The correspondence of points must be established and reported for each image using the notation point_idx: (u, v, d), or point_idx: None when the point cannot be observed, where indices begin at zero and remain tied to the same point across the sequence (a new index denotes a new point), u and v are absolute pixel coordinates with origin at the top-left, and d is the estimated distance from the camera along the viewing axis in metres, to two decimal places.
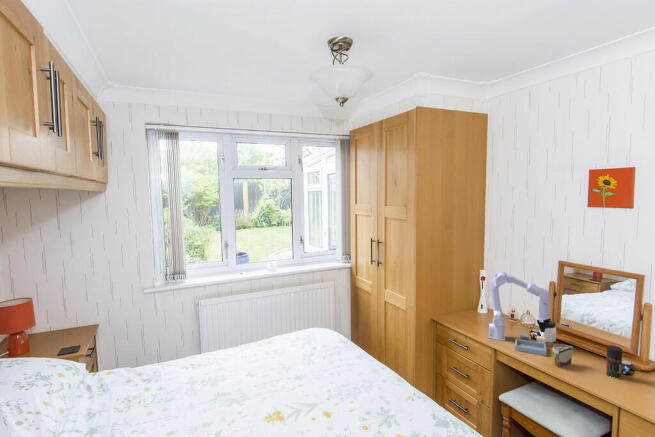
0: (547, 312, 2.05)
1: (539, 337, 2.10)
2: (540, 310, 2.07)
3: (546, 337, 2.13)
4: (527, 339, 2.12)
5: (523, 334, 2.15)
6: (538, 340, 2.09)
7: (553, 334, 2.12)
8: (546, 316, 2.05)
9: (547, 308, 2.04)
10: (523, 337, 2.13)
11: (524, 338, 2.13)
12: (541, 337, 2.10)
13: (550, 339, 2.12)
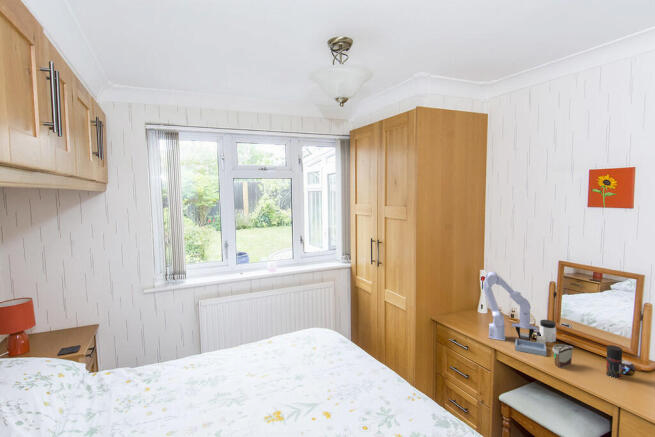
0: (521, 321, 2.13)
1: (539, 337, 2.10)
2: None
3: (546, 337, 2.13)
4: (527, 339, 2.12)
5: (523, 334, 2.15)
6: (538, 340, 2.09)
7: (553, 334, 2.12)
8: (520, 324, 2.14)
9: (527, 318, 2.11)
10: (523, 337, 2.13)
11: (524, 338, 2.13)
12: (541, 337, 2.10)
13: (550, 339, 2.12)
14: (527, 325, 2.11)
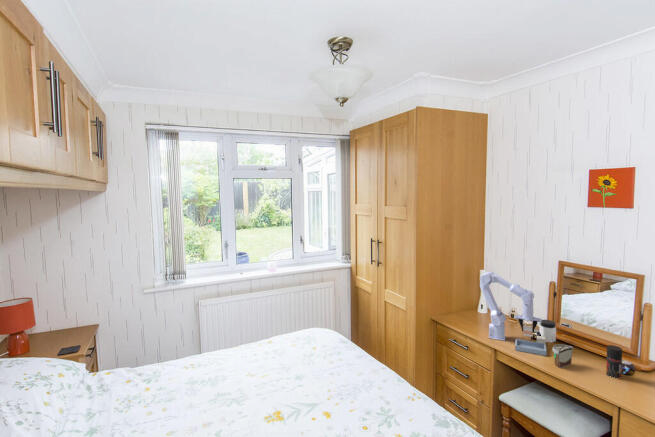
0: (524, 313, 2.07)
1: (539, 337, 2.10)
2: None
3: (546, 337, 2.13)
4: (530, 332, 2.06)
5: (526, 327, 2.09)
6: (538, 340, 2.09)
7: (553, 334, 2.12)
8: (523, 316, 2.08)
9: (529, 310, 2.05)
10: (526, 330, 2.07)
11: (527, 331, 2.07)
12: (541, 337, 2.10)
13: (550, 339, 2.12)
14: (530, 317, 2.05)
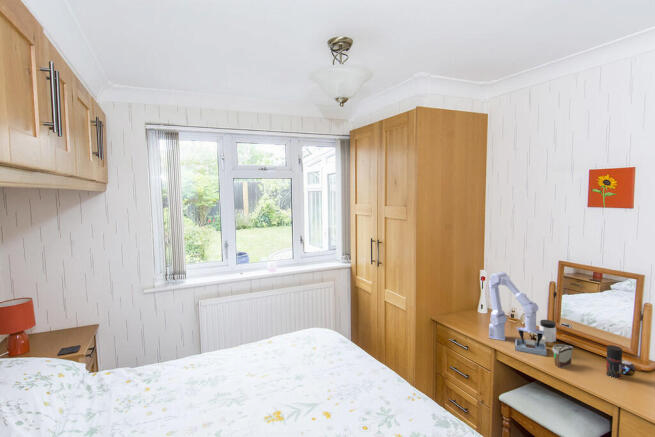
0: (527, 325, 2.02)
1: None
2: None
3: (546, 337, 2.13)
4: (533, 346, 2.01)
5: (529, 341, 2.05)
6: None
7: (553, 334, 2.12)
8: (526, 328, 2.03)
9: (531, 322, 2.00)
10: (529, 344, 2.02)
11: (530, 345, 2.02)
12: None
13: (550, 339, 2.12)
14: (533, 329, 2.00)
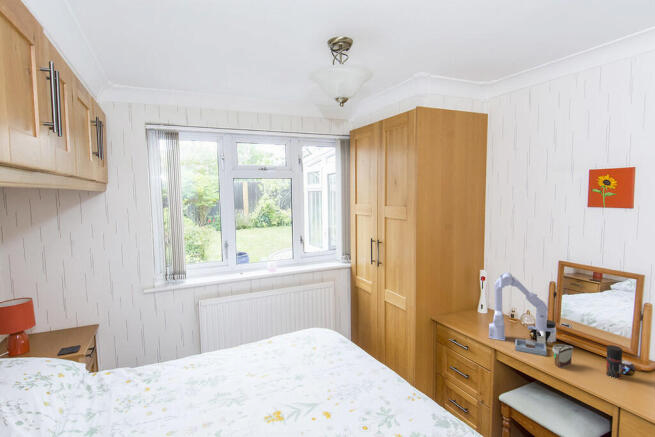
0: (537, 323, 2.09)
1: (539, 337, 2.10)
2: None
3: None
4: (533, 346, 2.01)
5: (529, 341, 2.05)
6: (538, 340, 2.09)
7: (553, 334, 2.12)
8: (537, 327, 2.09)
9: (544, 320, 2.06)
10: (529, 344, 2.02)
11: (530, 345, 2.02)
12: (541, 337, 2.10)
13: (550, 339, 2.12)
14: (544, 327, 2.07)
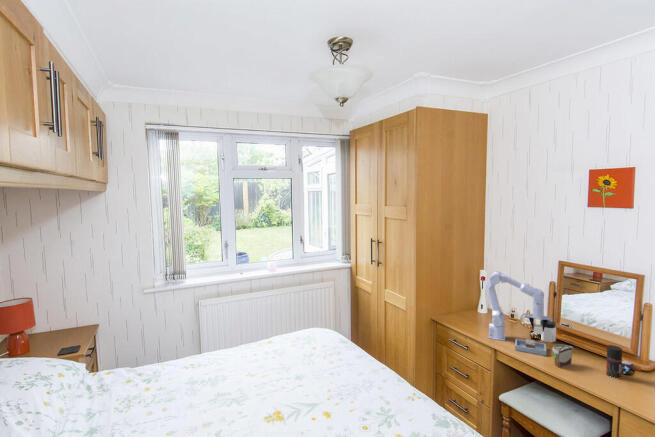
0: (534, 311, 2.06)
1: (536, 325, 2.08)
2: None
3: (546, 337, 2.13)
4: (533, 346, 2.01)
5: (529, 341, 2.05)
6: (535, 328, 2.06)
7: (553, 334, 2.12)
8: (534, 315, 2.07)
9: (540, 308, 2.04)
10: (529, 344, 2.02)
11: (530, 345, 2.02)
12: (538, 326, 2.07)
13: (550, 339, 2.12)
14: (541, 316, 2.04)
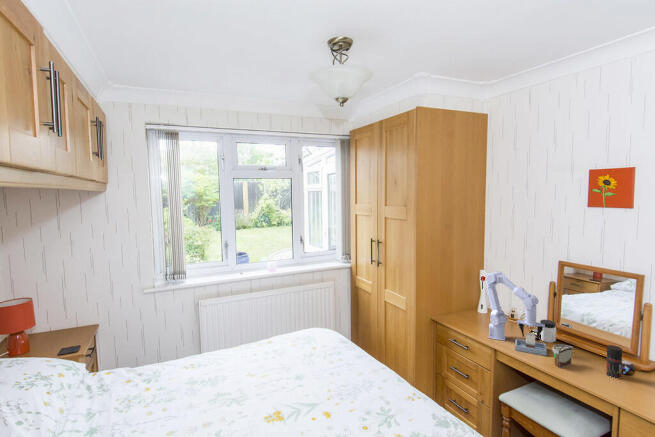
0: (527, 318, 2.02)
1: (529, 334, 2.03)
2: None
3: (546, 337, 2.13)
4: (533, 346, 2.01)
5: None
6: (527, 337, 2.02)
7: (553, 334, 2.12)
8: (526, 321, 2.02)
9: (531, 315, 2.00)
10: (529, 344, 2.02)
11: (530, 345, 2.02)
12: (531, 334, 2.03)
13: (550, 339, 2.12)
14: (533, 322, 2.00)
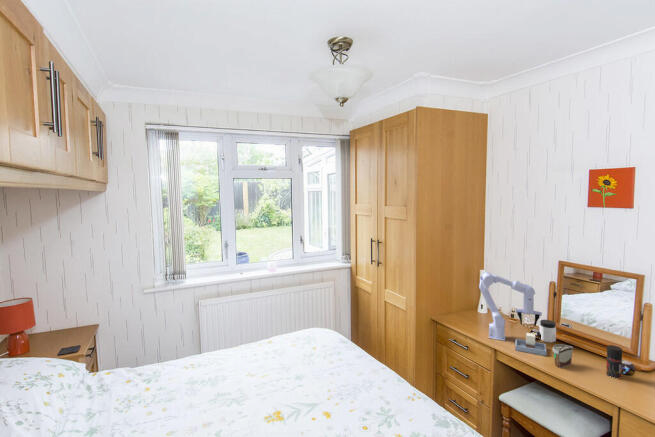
0: (525, 306, 2.14)
1: (529, 334, 2.03)
2: None
3: (546, 337, 2.13)
4: (533, 346, 2.01)
5: None
6: (527, 337, 2.02)
7: (553, 334, 2.12)
8: (524, 310, 2.15)
9: (532, 303, 2.12)
10: (529, 344, 2.02)
11: (530, 345, 2.02)
12: (531, 334, 2.03)
13: (550, 339, 2.12)
14: (531, 310, 2.12)
